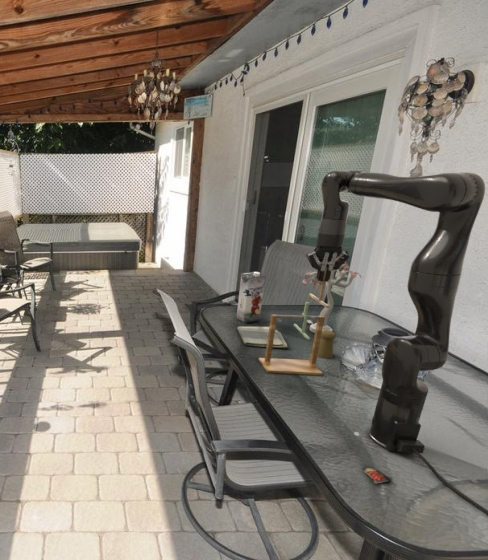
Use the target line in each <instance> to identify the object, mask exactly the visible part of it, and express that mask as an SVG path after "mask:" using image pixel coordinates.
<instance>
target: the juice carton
mask: <svg viewBox="0 0 488 560" xmlns="http://www.w3.org/2000/svg"><path fill="white" fill-rule="evenodd" d="M266 278H267V275H266V274H263V273H261V272H259V271H251V272H241V273H240V283H239V292H238V300H237V310H236V319H237V320H239V321H241V322H242V323H245V324H250V323H255V322H259V321H260V318H261V312H262V305H263V297H264V289H265V283H266V282H265V281H266Z"/></svg>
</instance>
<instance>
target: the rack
mask: <svg viewBox="0 0 488 560" xmlns="http://www.w3.org/2000/svg"><path fill="white" fill-rule="evenodd" d="M319 315H320V314H319ZM319 315H307V316H308V318H307V320H316V323H317V325H316V331H315V333H314V336H313V341H312V348H311V352H310V359H297V358H295V359H294V358H273V357H272V354H273V348H272V347H273V341H274V334H275V330H276V327H277V321H278V319H293V320H294V319H296V320H299V319H301V320H304V316H302V315H297V314H295V315H292V314H291V315H289V314H274V313H273V314H271V315H270V321H269V326H268V327H269V334H268V341H267V347H265V348H266V349H265V356H264V357H258V361H259V362H260V364H261V365H262V367H263V368H264V370H265V371H266V373H269V374H286V375H287V374H289V375H292V374H293V375H308V376H311V375H312V376H323V372H322V371H321V370H320V369H319V367H317V365H316V364H317V360H318V350H319V345H320V340H321V338H322V337H321V335H322V330H323V325H324V319H325V317H324V316H319Z"/></svg>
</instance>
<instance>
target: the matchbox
mask: <svg viewBox="0 0 488 560" xmlns="http://www.w3.org/2000/svg"><path fill="white" fill-rule="evenodd" d="M363 471H364V473H365V474H367V476H368V477H370V479H372V482H373V483H374V484H376V485H378V483H379V484H381V483H386V482H389V481H391V480H392V478H390V477H389V476H388V475H387V474H385V473H384V472H382V471H380V470H378V469H374V468H372V467H367V468H365V470H363Z"/></svg>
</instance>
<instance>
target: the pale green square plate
mask: <svg viewBox="0 0 488 560" xmlns="http://www.w3.org/2000/svg"><path fill="white" fill-rule="evenodd" d="M269 327H270V326H238V327H237V328H236V329H237V331H238V333H239V336H240V338H241V340H242V342H243V344H244V345H245V346H249V347H258V348H267V341H268V334H269ZM288 348H289V346H288V344H287V342H286V340H285V338H284V337H283V335H282V333H281V331H278V330H277V329H275V334H274V341H273V347H272V349H286V350H287V349H288Z"/></svg>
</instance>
